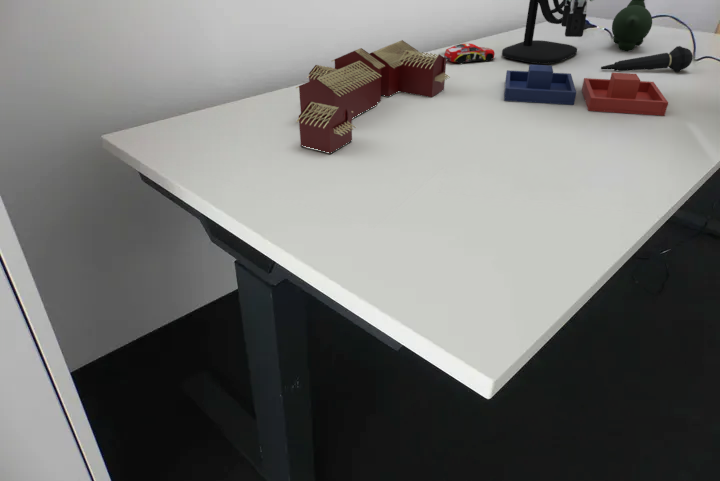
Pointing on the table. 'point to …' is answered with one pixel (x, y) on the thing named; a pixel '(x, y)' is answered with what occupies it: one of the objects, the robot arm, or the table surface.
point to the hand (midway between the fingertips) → (571, 31)
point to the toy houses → (362, 89)
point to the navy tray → (558, 93)
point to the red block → (623, 86)
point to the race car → (468, 53)
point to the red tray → (645, 102)
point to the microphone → (656, 61)
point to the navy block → (539, 77)
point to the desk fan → (535, 48)
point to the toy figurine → (631, 25)
